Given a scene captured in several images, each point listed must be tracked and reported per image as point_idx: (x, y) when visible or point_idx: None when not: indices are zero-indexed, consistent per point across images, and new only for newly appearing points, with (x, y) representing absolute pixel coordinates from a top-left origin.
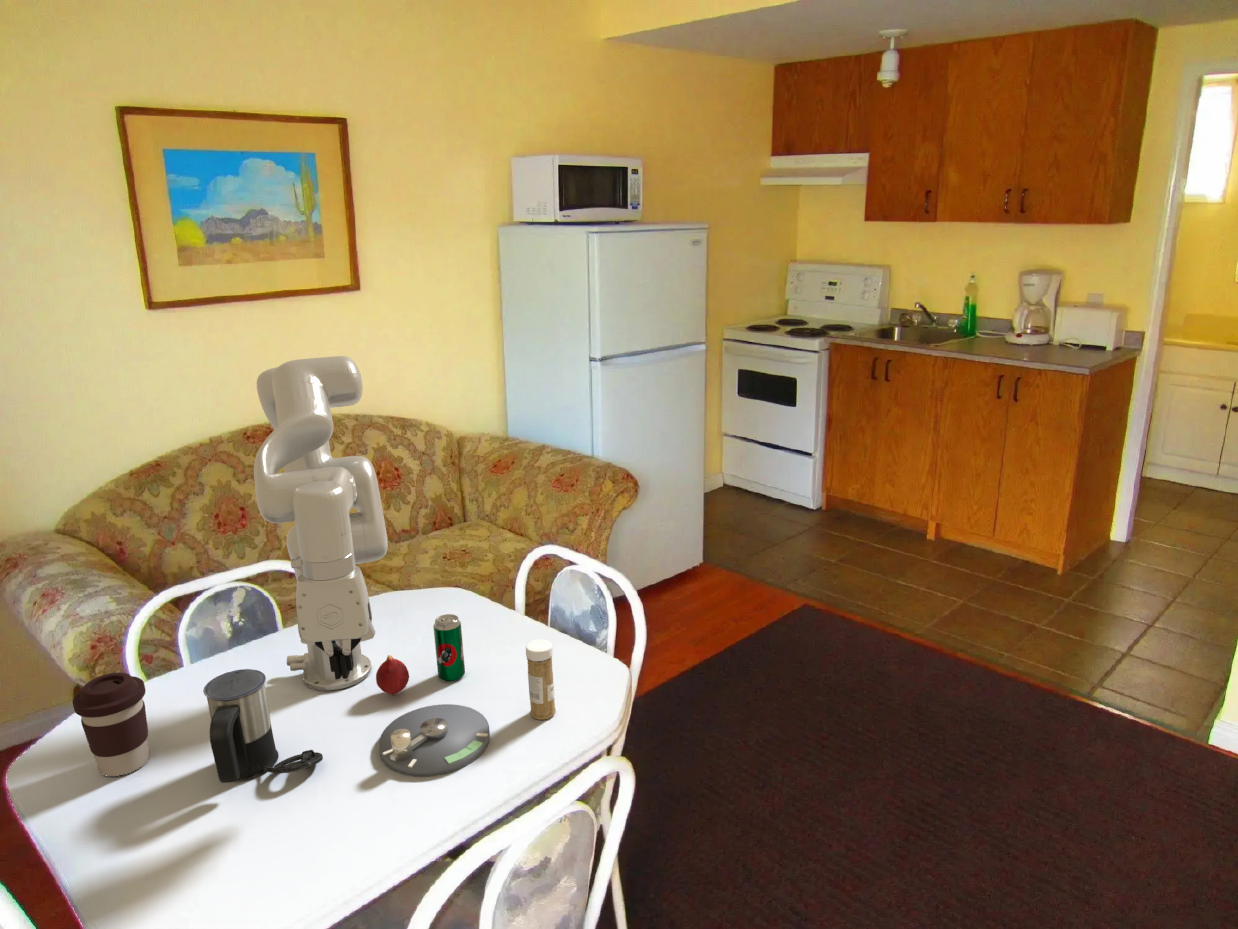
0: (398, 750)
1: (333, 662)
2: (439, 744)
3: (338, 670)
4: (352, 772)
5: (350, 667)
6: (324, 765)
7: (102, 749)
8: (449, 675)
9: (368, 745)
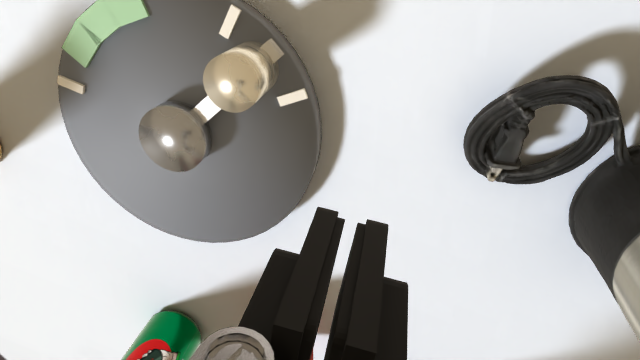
0: (250, 48)
1: (376, 310)
2: (168, 84)
3: (355, 256)
4: (392, 74)
5: (275, 260)
6: (460, 130)
7: None
8: (170, 321)
9: (347, 170)
